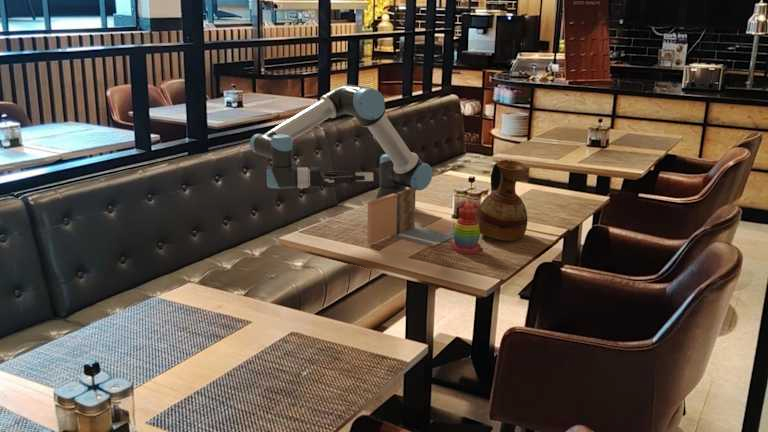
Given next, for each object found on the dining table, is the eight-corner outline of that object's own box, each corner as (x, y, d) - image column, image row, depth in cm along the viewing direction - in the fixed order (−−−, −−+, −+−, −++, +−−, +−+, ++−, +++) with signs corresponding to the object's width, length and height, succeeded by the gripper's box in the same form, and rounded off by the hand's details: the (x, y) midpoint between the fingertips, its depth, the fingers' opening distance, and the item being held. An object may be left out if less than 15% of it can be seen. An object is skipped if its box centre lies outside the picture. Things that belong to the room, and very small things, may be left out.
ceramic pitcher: (492, 247, 273) (497, 168, 265) (465, 231, 291) (468, 157, 282) (536, 241, 281) (542, 164, 272) (507, 226, 299) (512, 153, 290)
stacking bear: (480, 246, 275) (483, 199, 270) (481, 255, 265) (484, 207, 260) (451, 244, 276) (453, 198, 271) (451, 253, 266) (453, 206, 261)
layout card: (408, 225, 297) (408, 224, 297) (455, 237, 284) (455, 235, 284) (385, 234, 286) (385, 233, 286) (433, 246, 273) (433, 245, 273)
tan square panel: (392, 232, 286) (393, 193, 281) (396, 233, 284) (397, 194, 280) (366, 243, 273) (367, 201, 269) (371, 244, 272) (371, 202, 268)
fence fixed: (410, 226, 295) (411, 187, 290) (415, 227, 294) (416, 188, 289) (393, 233, 286) (394, 193, 281) (397, 234, 285) (398, 194, 280)
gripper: (308, 182, 280) (370, 181, 283) (310, 192, 266) (375, 191, 269) (308, 163, 277) (370, 162, 280) (309, 172, 264) (375, 171, 267)
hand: (372, 176), depth 275 cm, fingers closed
